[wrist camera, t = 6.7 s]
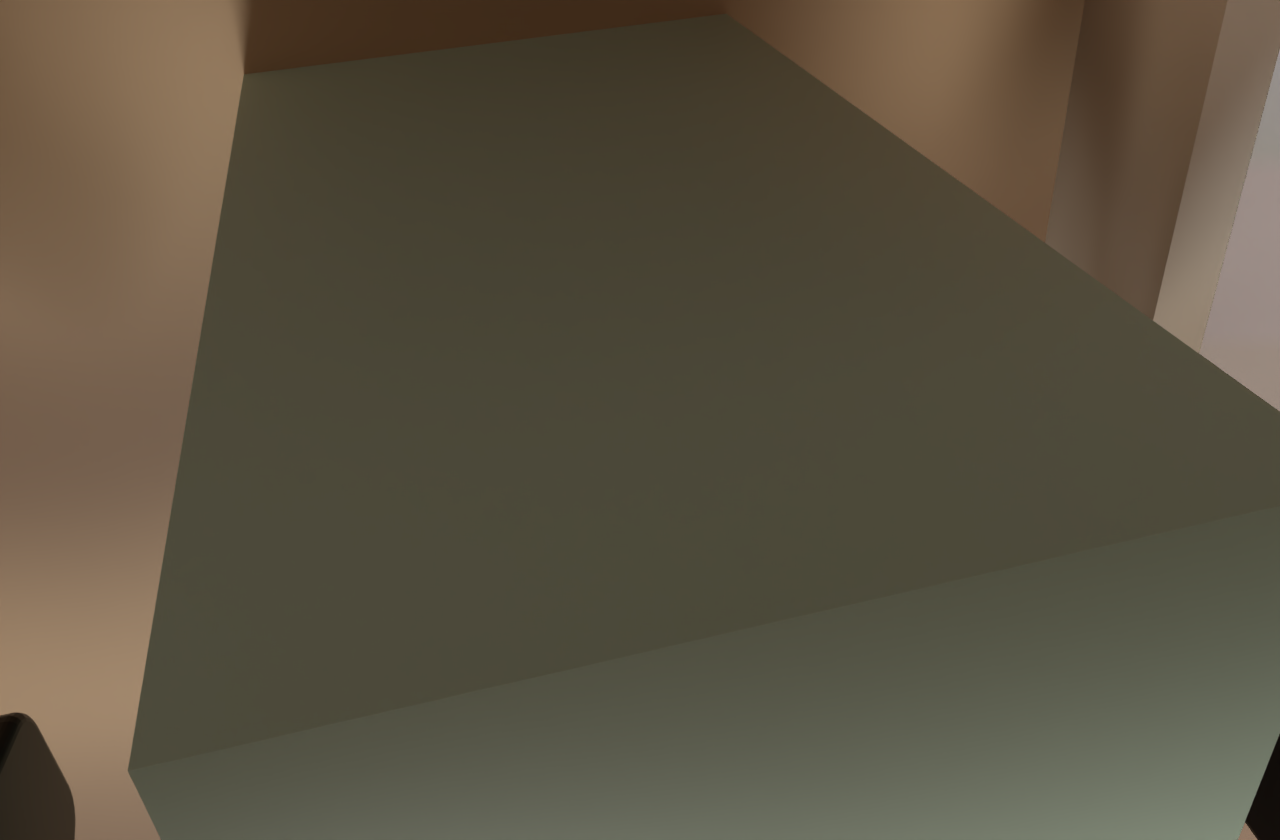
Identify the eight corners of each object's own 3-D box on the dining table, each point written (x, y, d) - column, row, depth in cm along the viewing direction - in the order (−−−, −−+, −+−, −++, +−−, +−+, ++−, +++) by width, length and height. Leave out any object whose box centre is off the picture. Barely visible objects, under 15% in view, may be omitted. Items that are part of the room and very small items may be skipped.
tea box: (739, 612, 13) (1064, 1290, 8) (401, 689, 13) (483, 1502, 7) (732, 13, 9) (1389, 482, 4) (243, 74, 9) (128, 773, 3)
